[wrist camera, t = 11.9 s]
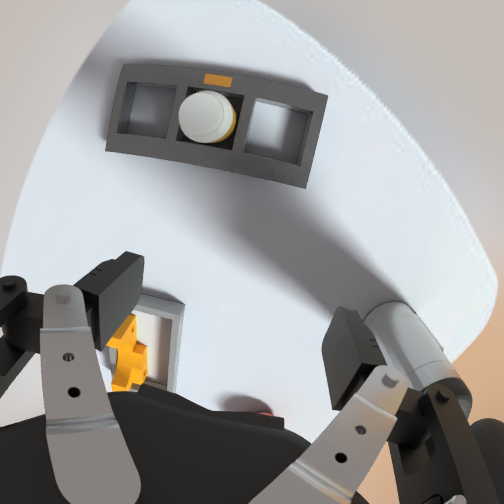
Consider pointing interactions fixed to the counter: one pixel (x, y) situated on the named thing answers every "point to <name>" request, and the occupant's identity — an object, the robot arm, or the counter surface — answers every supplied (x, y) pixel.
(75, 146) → the counter surface
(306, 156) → the three-compartment grey tray
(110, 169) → the counter surface
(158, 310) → the clamp tray
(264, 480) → the robot arm
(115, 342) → the pipe clamp
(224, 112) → the supplement bottle
